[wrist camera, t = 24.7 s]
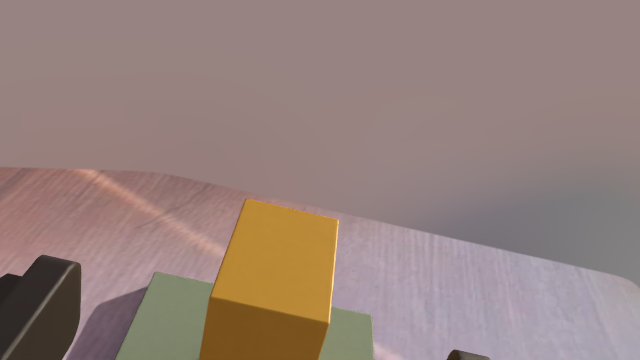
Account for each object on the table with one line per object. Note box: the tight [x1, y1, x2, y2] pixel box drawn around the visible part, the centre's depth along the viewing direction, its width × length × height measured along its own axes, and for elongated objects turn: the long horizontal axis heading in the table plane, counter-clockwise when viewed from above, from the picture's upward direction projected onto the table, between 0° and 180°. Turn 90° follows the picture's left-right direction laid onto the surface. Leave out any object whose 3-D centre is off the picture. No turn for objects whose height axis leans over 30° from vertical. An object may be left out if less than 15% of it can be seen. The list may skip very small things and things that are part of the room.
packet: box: [199, 199, 339, 360], centre depth 26 cm, size 4×7×10 cm, turn 175°
